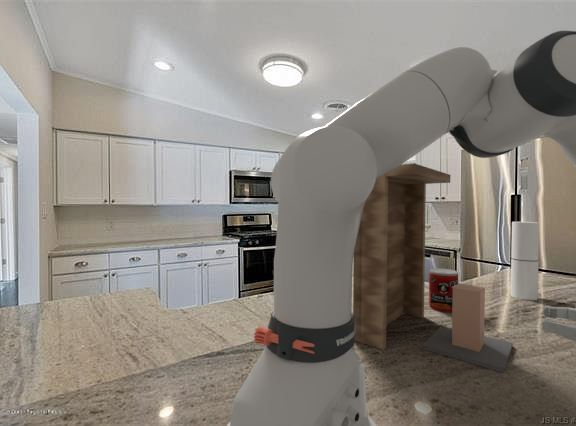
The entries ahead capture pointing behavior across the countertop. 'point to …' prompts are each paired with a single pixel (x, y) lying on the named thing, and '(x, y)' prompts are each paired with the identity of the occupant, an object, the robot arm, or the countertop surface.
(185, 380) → the countertop surface
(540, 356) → the countertop surface
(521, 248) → the cylindrical container
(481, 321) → the block
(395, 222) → the shelf
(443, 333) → the mat
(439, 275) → the canned food
